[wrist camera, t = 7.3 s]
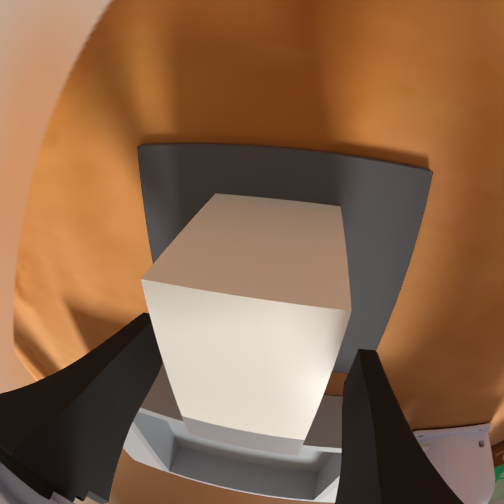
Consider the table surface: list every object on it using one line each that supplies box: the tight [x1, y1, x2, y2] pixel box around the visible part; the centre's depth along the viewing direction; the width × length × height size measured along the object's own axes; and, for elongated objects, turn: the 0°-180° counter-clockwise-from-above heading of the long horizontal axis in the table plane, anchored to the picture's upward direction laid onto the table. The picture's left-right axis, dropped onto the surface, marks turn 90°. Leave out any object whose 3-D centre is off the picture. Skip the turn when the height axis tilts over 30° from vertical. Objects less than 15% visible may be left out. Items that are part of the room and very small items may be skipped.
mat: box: [137, 143, 433, 373], centre depth 14 cm, size 12×12×1 cm
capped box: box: [141, 193, 352, 456], centre depth 12 cm, size 5×9×6 cm, turn 179°
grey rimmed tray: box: [123, 364, 431, 503], centre depth 22 cm, size 26×18×4 cm
